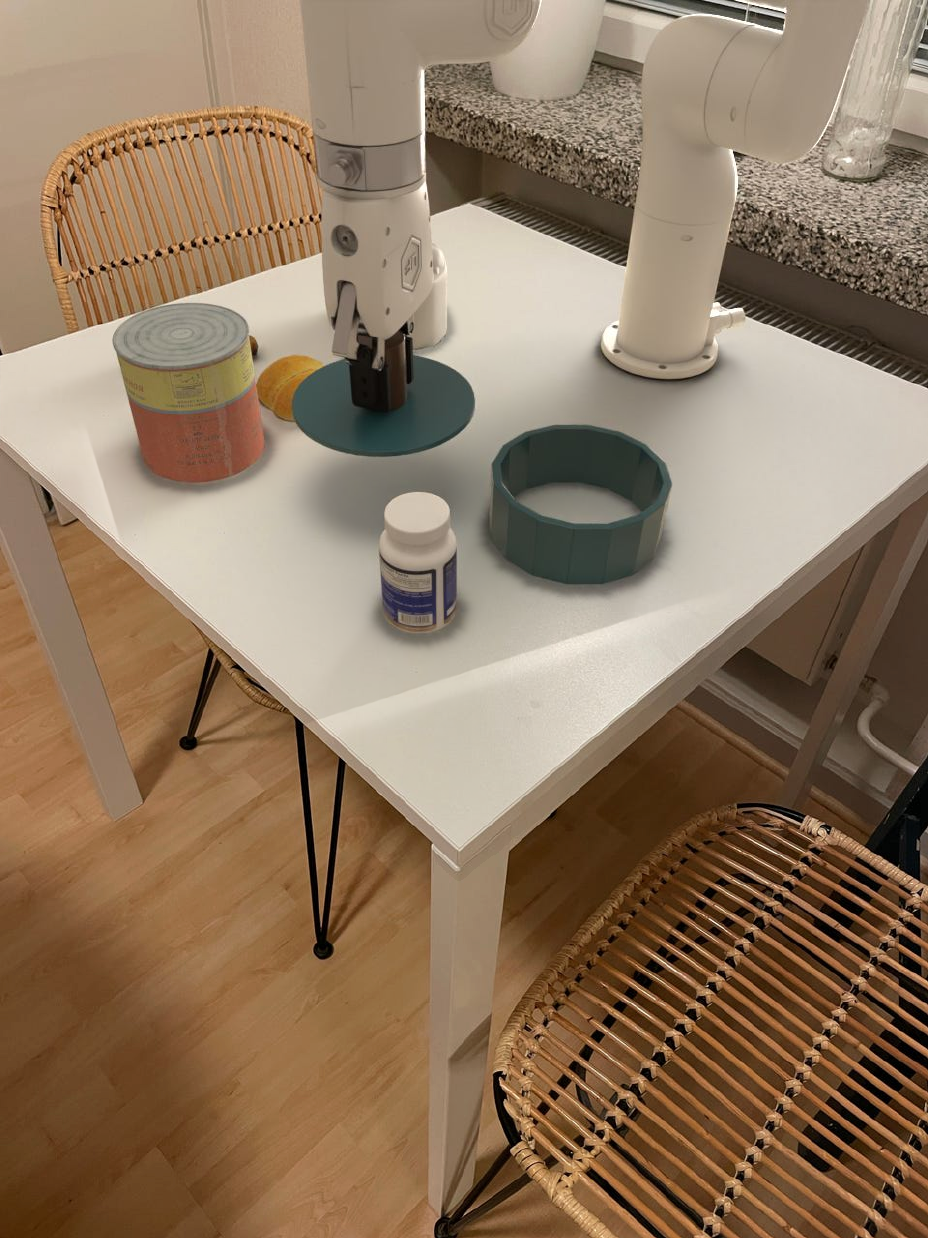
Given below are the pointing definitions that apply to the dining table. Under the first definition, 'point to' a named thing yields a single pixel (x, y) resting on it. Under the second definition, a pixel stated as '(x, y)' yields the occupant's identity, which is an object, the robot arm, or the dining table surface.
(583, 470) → the pot
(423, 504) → the pill bottle
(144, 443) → the canned food
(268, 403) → the bread roll
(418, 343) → the lumpy-topped squat cylinder
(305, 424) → the lid
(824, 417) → the dining table surface
